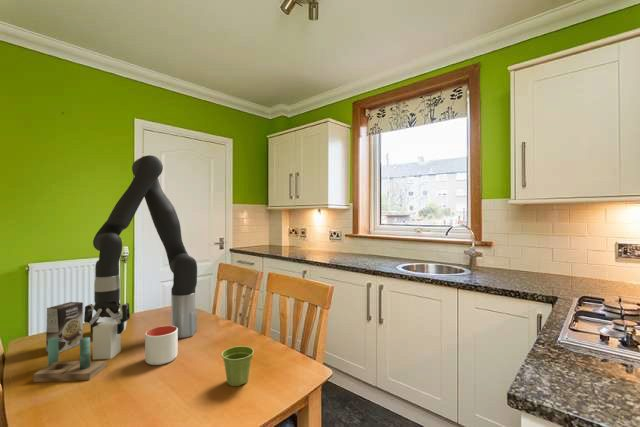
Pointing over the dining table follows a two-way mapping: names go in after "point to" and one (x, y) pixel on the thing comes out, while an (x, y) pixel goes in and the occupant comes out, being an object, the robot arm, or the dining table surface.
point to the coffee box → (65, 325)
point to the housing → (106, 340)
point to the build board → (54, 371)
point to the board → (84, 372)
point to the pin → (52, 350)
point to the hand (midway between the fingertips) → (107, 333)
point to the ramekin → (109, 319)
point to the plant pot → (237, 364)
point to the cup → (161, 345)
